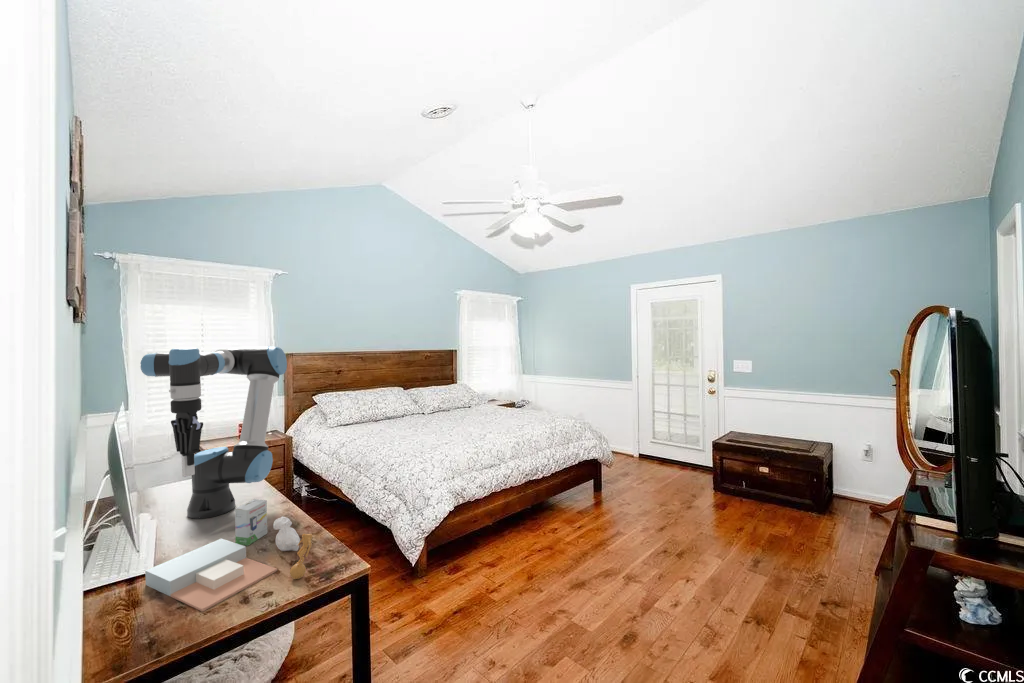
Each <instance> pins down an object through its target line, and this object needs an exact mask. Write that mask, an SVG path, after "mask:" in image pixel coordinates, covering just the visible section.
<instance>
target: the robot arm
mask: <svg viewBox="0 0 1024 683" xmlns="http://www.w3.org/2000/svg"><path fill="white" fill-rule="evenodd" d="M287 361H288V360H287V357H286V354H285V352H284V350H283V349H282V348H280V347H278V346H270V345H267V346H238V347H231V348H226V349H217V350H214V351H206V352H205V351H203V352H202V351H201V352H200V349H199V348H197V347H178V348H177V347H176V348H172V349H170V350H169V352H153V353H147V354H145V355H143V356H142V358H141V359H140V370H141V372H142V374H143V375H144V376H147V377H155V378H157V377H169V389H168V392H169V393H170V399H171V401H170V412H171V413H172V414H175V419H172V420H171V421H170V424H171V426H172V427H171V428H172V430H173V437H174V442H175V449H176V452H179V453H180V455H181V475H182V477H184V478H186V477H190V476H191V487H192V488H191V493H192V494H191V497H190V499H189V503H188V506H187V509H186V516H187V518H190V519H196V520H197V519H207V518H214V517H217V516H221V515H223V514H226V513H229V512H230V511H232V510H234V508H236V500H235V497H234V495H233V493H232V490H231V488H230V484H252V483H259V482H260V483H261V482H262V481H263V480H265V479H266V478H267V477H268V475H269V473H270V471H271V469H272V467H273V461H274V458H273V453H272V451H270V450H269V446H268V444H266V438H267V437H266V436H267V430H268V425H269V424H268V423H269V417H270V412H271V403H272V398H273V392H274V386H275V383H277V382H279V380H280V376H283V375H284V374H285V373H286V372H287V366H288V362H287ZM217 374H229V375H230V374H231V375H241V376H246V378H247V380H249V386H248V390H247V391H248V392H247V397H246V402H245V408H244V414H243V418H242V425H241V432H240V436H239V440H238V441H239V442H237V443H235V445H234V444H233V450H232V451H229V447H227V446H218V447H213V448H209V449H206V450H201V451H200V446H201V438H202V429H203V427H204V422H199V421H198V419H199V417H198V413H197V412H199V411H201V410H202V399H201V398H200V397H202V389H201V388H202V387H201V386H202V385H201V377H206V376H213V375H217Z"/></svg>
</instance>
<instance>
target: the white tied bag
mask: <svg viewBox="0 0 1024 683" xmlns="http://www.w3.org/2000/svg"><path fill="white" fill-rule="evenodd" d="M292 524H293V522H292V521H291V518H288V517H285V516H281V517H279V518H276V519H275V520H274V522H273V530H278V532H277V534H276V536H275V545H276V547H277V548H278V550H280V551H281V552H286V551H287V552H288V551H294V552H298V551H299V550H300V544H299V542H300V541H301V538H300V535H299V534H298V533H297V531H296V529H295V528H293V527H291V526H292ZM298 544H299V545H298Z"/></svg>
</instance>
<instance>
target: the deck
mask: <svg viewBox="0 0 1024 683" xmlns="http://www.w3.org/2000/svg"><path fill="white" fill-rule="evenodd" d="M245 558H247V547H246V545H240V544H237V543H235V542H233V541H231V540H227V539H224V538H222V537H221V538H219V539H216V540H214V541H212V542H209V543H208V544H205V545H202V546H200V547H197V548H195V549H193V550H191V551H188V552H186V553H183V554H181V555H178V556H177V557H174V558H172V559H170V560H167V561H165V562H162V563H160V564H158V565H155V566H153V567H150V568H148V569H145V571H144V572H145V573H144V574H145V585H146V586H147V587H149V588H151V589H154V590H156V591H157V592H160V593H162V594H164V595H166V596H168V597H171V595H170V594H172V593H174V592H176V591H178V590H181V589H183V588H185V587H187V586H189V585H191V584H193V583H195V582H196V573H197V572H199V571H202V570H204V569H206V568H208V567H210V566H212V565H214V564H217V563H219V562H221V561H223V560H225V559H227V560H230V561H232V562H235V563H236V562H238V561H241V560H243V559H245ZM171 598H172V597H171Z"/></svg>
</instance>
